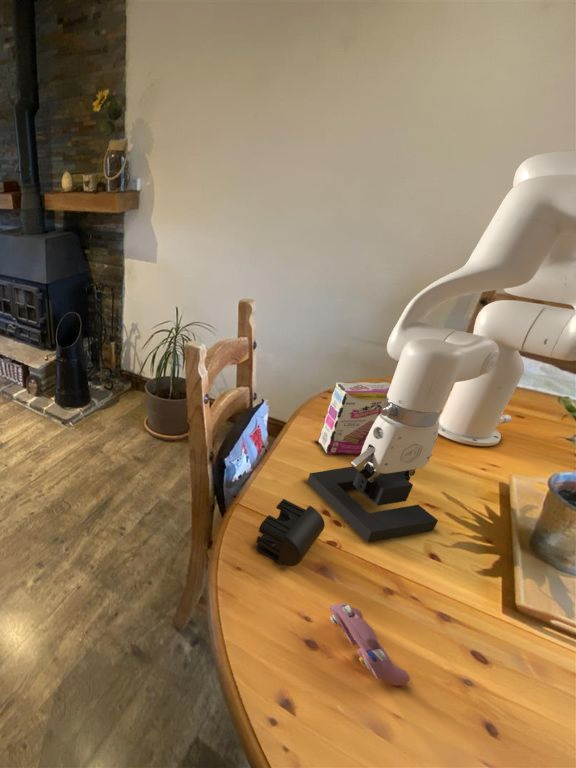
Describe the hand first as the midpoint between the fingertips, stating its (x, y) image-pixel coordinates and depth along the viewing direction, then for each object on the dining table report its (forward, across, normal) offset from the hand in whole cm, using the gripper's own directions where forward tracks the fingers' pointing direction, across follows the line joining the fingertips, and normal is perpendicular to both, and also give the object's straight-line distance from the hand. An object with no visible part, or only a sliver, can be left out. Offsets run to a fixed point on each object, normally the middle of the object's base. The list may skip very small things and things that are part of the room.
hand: (379, 490), depth 79 cm
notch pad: (+3, -1, 0) cm, 4 cm away
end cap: (+4, -22, -6) cm, 23 cm away
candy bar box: (+3, +8, +16) cm, 18 cm away
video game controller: (+4, -23, -24) cm, 34 cm away
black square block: (+1, 0, 0) cm, 1 cm away
